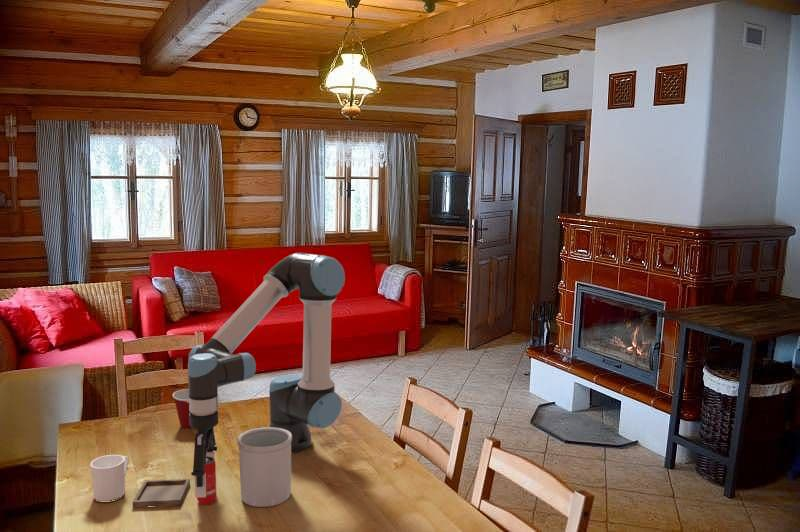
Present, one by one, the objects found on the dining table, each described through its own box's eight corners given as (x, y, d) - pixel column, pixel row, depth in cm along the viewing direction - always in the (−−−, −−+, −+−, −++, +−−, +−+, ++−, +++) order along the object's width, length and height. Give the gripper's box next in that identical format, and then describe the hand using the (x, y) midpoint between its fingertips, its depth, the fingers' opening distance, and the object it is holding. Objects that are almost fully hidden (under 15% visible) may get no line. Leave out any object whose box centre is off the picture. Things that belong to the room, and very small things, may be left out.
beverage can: (199, 507, 185) (197, 465, 184) (195, 499, 190) (193, 458, 188) (218, 503, 188) (217, 461, 186) (214, 495, 192) (212, 454, 190)
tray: (190, 484, 198) (189, 478, 198) (180, 506, 186) (180, 500, 186) (145, 486, 197) (145, 480, 197) (132, 508, 185) (132, 501, 184)
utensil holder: (246, 482, 200) (245, 425, 197) (297, 483, 199) (296, 426, 197) (233, 507, 185) (231, 446, 183) (287, 509, 185) (286, 447, 182)
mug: (105, 507, 185) (103, 471, 184) (85, 498, 190) (83, 463, 188) (139, 490, 194) (137, 456, 193) (120, 483, 199) (118, 449, 197)
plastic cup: (195, 433, 236) (194, 399, 234) (167, 429, 238) (166, 397, 237) (211, 421, 246) (210, 389, 244) (184, 418, 249) (183, 387, 247)
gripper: (198, 396, 197) (200, 465, 200) (179, 428, 172) (181, 507, 175) (224, 395, 198) (226, 465, 200) (209, 428, 173) (211, 506, 176)
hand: (205, 485), depth 188 cm, fingers open, 13 cm apart
